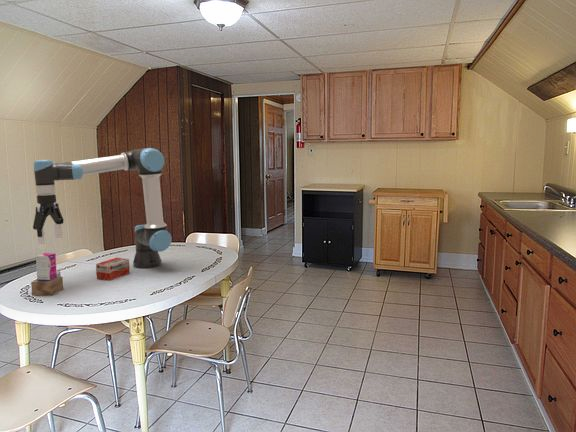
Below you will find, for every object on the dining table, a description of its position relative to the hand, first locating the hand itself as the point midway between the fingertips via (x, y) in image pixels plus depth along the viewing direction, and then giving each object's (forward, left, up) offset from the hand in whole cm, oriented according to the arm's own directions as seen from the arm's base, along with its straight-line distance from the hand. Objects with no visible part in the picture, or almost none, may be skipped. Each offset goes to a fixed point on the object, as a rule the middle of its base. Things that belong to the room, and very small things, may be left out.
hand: (50, 240), depth 198 cm
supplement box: (0, +5, -17) cm, 18 cm away
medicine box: (-18, -22, -23) cm, 37 cm away
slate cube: (+4, -5, -23) cm, 24 cm away
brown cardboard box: (0, +5, -23) cm, 23 cm away
